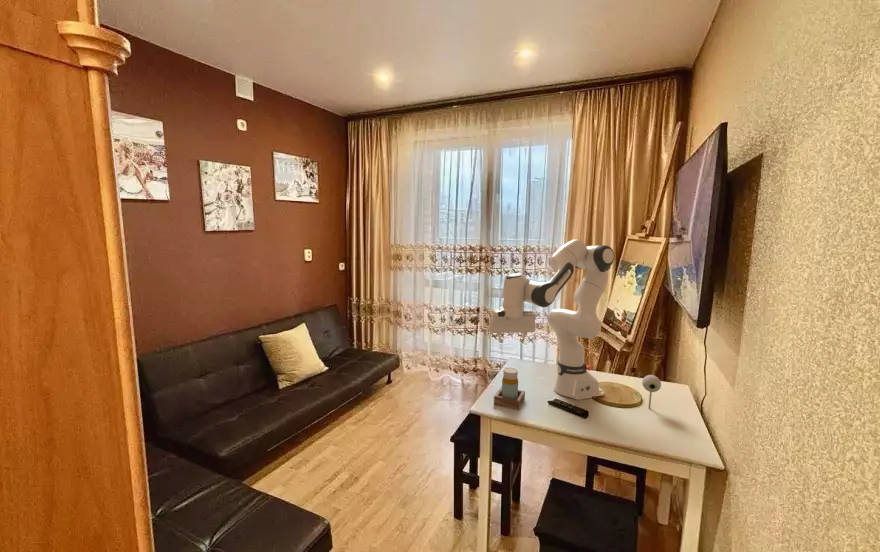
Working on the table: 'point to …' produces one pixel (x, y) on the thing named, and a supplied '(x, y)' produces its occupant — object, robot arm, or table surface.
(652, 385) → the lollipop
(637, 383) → the table surface
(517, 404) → the pocket
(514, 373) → the bottle
